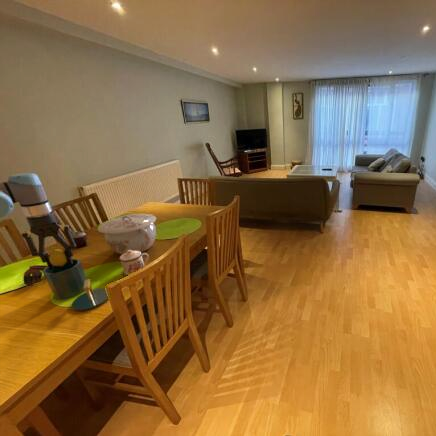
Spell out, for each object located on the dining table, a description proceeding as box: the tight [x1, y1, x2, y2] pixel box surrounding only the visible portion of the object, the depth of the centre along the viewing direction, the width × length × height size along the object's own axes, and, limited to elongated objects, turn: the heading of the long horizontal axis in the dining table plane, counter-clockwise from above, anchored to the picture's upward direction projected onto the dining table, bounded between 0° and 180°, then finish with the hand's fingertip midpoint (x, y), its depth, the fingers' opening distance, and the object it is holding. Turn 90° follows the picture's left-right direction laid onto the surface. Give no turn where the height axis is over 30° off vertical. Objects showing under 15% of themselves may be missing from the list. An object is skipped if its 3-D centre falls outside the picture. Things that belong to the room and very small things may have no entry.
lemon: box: [48, 248, 68, 267], centre depth 99 cm, size 6×6×8 cm
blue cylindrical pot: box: [42, 258, 88, 300], centre depth 103 cm, size 12×12×13 cm
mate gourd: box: [69, 228, 88, 249], centre depth 140 cm, size 8×8×15 cm
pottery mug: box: [22, 264, 48, 286], centre depth 111 cm, size 12×10×8 cm
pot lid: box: [71, 278, 109, 311], centre depth 97 cm, size 13×13×8 cm
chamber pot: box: [97, 213, 157, 255], centre depth 135 cm, size 28×28×21 cm
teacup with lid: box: [119, 250, 150, 276], centre depth 117 cm, size 12×9×12 cm
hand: (61, 265), depth 100 cm, fingers closed on lemon, 5 cm apart
